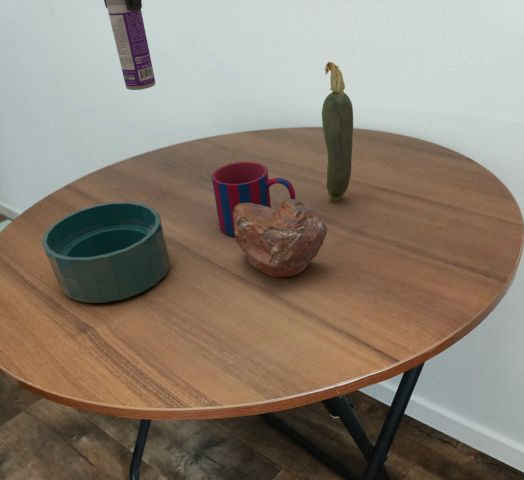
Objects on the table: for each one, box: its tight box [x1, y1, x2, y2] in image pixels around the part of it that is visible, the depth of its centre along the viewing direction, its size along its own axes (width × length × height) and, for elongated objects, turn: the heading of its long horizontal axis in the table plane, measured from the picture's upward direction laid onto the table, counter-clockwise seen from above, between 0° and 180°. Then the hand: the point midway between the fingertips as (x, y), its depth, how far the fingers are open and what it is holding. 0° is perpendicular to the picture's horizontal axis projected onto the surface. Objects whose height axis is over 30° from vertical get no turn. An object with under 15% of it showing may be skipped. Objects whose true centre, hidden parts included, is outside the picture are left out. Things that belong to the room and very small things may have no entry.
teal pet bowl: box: [41, 201, 171, 304], centre depth 70 cm, size 15×15×7 cm
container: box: [106, 0, 156, 91], centre depth 77 cm, size 5×5×15 cm
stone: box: [233, 198, 328, 278], centre depth 65 cm, size 13×8×10 cm
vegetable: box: [321, 61, 354, 202], centre depth 76 cm, size 4×4×20 cm
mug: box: [211, 161, 296, 238], centre depth 76 cm, size 8×12×8 cm, turn 64°
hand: (124, 8), depth 75 cm, fingers closed on container, 4 cm apart
